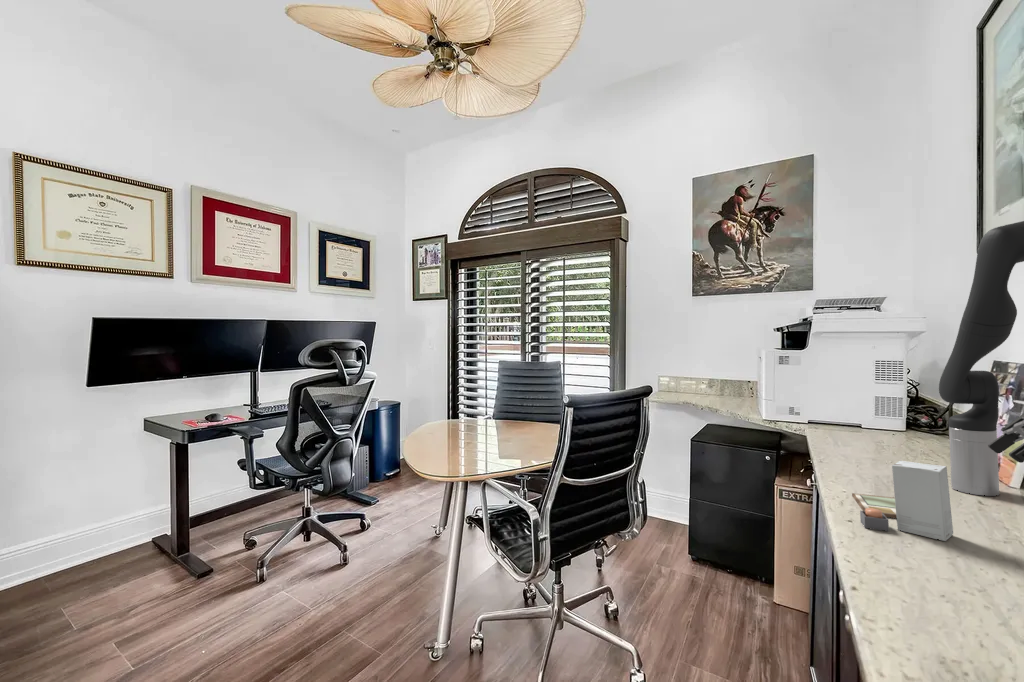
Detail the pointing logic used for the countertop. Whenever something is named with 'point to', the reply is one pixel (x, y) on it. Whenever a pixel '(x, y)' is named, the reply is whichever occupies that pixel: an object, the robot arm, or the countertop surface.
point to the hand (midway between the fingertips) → (1002, 454)
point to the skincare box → (922, 499)
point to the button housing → (874, 522)
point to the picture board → (877, 503)
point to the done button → (873, 513)
